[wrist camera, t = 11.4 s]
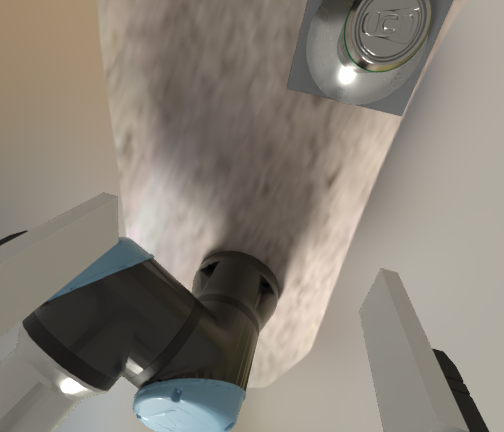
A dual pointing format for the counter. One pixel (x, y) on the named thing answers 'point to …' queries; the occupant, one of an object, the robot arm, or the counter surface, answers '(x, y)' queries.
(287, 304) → the counter surface
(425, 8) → the soda can
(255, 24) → the counter surface
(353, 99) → the scale pan
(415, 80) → the scale base
